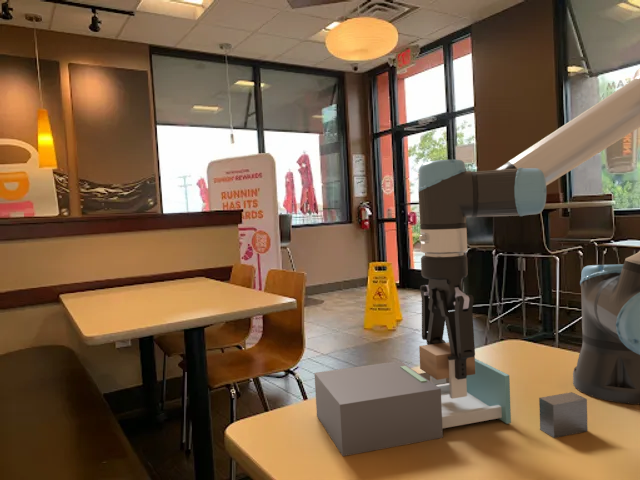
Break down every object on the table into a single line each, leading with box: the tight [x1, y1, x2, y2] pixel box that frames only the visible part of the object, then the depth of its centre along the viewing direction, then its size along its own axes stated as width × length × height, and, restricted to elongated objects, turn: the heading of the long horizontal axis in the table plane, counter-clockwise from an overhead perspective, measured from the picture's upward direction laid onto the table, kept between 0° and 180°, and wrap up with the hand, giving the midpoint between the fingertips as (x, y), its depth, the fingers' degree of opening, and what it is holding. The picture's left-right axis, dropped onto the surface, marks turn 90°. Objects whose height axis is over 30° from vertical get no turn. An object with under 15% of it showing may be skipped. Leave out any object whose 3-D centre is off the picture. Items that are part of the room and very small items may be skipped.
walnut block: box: [418, 341, 476, 380], centre depth 83 cm, size 7×6×4 cm
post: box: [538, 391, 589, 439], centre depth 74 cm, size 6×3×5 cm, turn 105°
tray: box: [436, 358, 512, 429], centre depth 82 cm, size 16×15×8 cm
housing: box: [314, 360, 444, 457], centre depth 79 cm, size 16×15×8 cm
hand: (447, 389), depth 83 cm, fingers closed on walnut block, 6 cm apart
